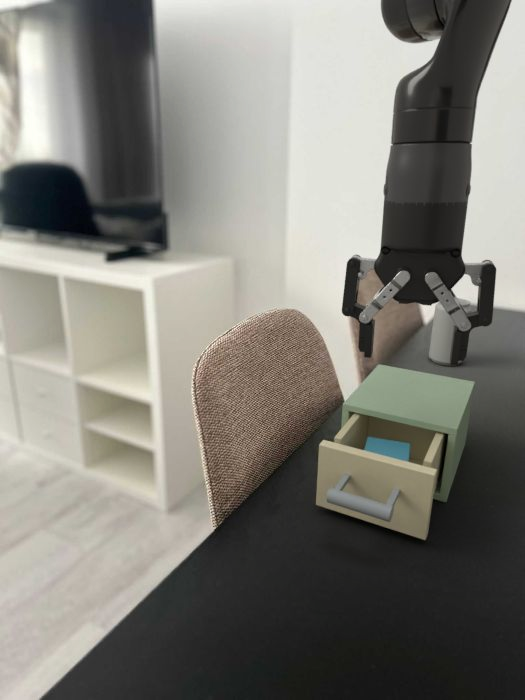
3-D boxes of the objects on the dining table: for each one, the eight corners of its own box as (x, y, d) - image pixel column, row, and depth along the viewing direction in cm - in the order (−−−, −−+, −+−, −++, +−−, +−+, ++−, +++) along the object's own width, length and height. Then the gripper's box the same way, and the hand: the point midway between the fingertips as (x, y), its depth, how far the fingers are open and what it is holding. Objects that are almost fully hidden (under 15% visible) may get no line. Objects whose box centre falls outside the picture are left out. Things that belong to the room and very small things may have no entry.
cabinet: (446, 502, 56) (457, 429, 53) (337, 471, 62) (342, 403, 59) (465, 444, 69) (475, 381, 66) (373, 422, 74) (378, 364, 71)
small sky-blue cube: (406, 479, 57) (410, 443, 56) (403, 503, 53) (408, 465, 51) (364, 472, 58) (367, 436, 57) (358, 495, 54) (362, 457, 53)
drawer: (414, 571, 46) (424, 501, 43) (298, 529, 51) (300, 465, 48) (449, 472, 60) (457, 416, 58) (356, 448, 66) (360, 396, 63)
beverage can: (432, 353, 103) (440, 294, 99) (466, 359, 100) (475, 299, 96) (424, 362, 98) (432, 301, 94) (459, 369, 94) (469, 306, 90)
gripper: (503, 195, 49) (480, 354, 54) (354, 194, 53) (346, 342, 59) (514, 199, 42) (487, 380, 48) (342, 198, 46) (335, 365, 52)
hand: (409, 359), depth 53 cm, fingers open, 8 cm apart
